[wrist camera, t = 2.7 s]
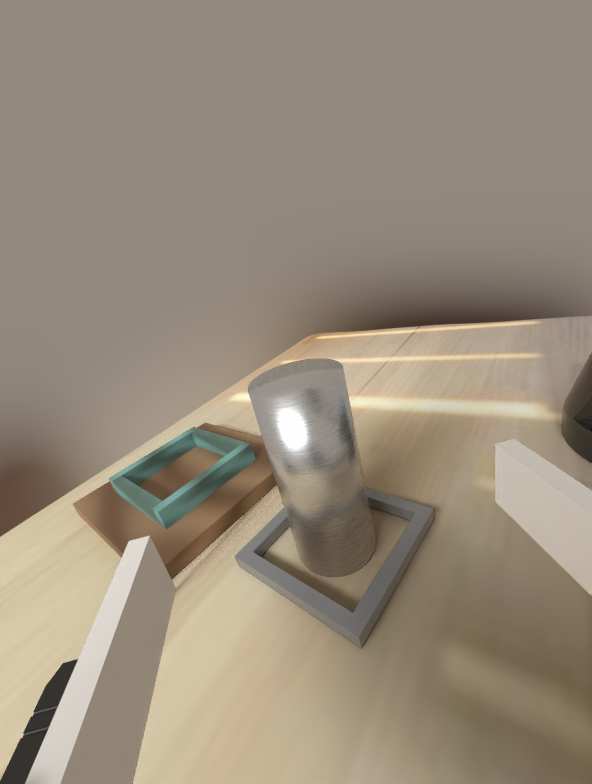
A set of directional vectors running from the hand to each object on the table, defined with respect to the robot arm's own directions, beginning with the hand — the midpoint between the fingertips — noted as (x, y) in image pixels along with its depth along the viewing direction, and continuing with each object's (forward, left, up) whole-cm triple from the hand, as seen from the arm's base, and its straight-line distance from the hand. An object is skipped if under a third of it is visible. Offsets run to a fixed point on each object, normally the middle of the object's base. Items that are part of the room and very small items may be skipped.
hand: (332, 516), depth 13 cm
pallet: (-5, -26, -12) cm, 29 cm away
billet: (-7, -7, -12) cm, 16 cm away
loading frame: (-7, -7, -12) cm, 16 cm away
